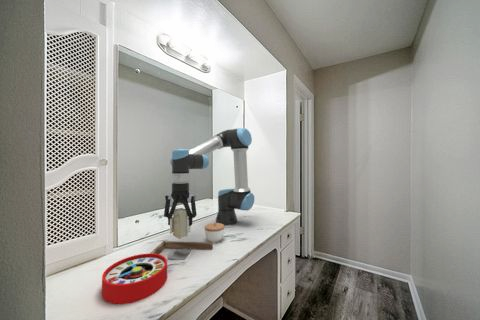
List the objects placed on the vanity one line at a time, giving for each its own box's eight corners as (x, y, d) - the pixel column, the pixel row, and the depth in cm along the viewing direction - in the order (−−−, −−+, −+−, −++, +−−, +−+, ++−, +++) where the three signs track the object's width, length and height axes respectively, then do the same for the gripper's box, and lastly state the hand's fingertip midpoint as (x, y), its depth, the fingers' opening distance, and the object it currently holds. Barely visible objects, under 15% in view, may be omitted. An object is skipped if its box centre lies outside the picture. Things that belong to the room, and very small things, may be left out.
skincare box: (172, 235, 88) (172, 209, 88) (181, 232, 91) (181, 207, 91) (179, 239, 83) (178, 211, 83) (188, 236, 86) (188, 209, 87)
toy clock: (177, 265, 68) (111, 295, 53) (177, 282, 68) (111, 316, 53) (153, 248, 81) (95, 268, 66) (153, 262, 81) (95, 285, 66)
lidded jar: (221, 245, 97) (221, 226, 97) (201, 243, 99) (201, 225, 99) (226, 237, 107) (226, 220, 108) (208, 235, 110) (208, 219, 110)
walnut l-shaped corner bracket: (163, 247, 95) (163, 241, 95) (212, 248, 93) (212, 242, 93) (145, 264, 79) (145, 257, 79) (204, 266, 77) (204, 259, 77)
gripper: (155, 183, 84) (154, 234, 84) (199, 183, 83) (199, 236, 83) (163, 181, 92) (162, 229, 92) (204, 181, 91) (203, 230, 90)
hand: (180, 232), depth 87 cm, fingers closed on skincare box, 7 cm apart
